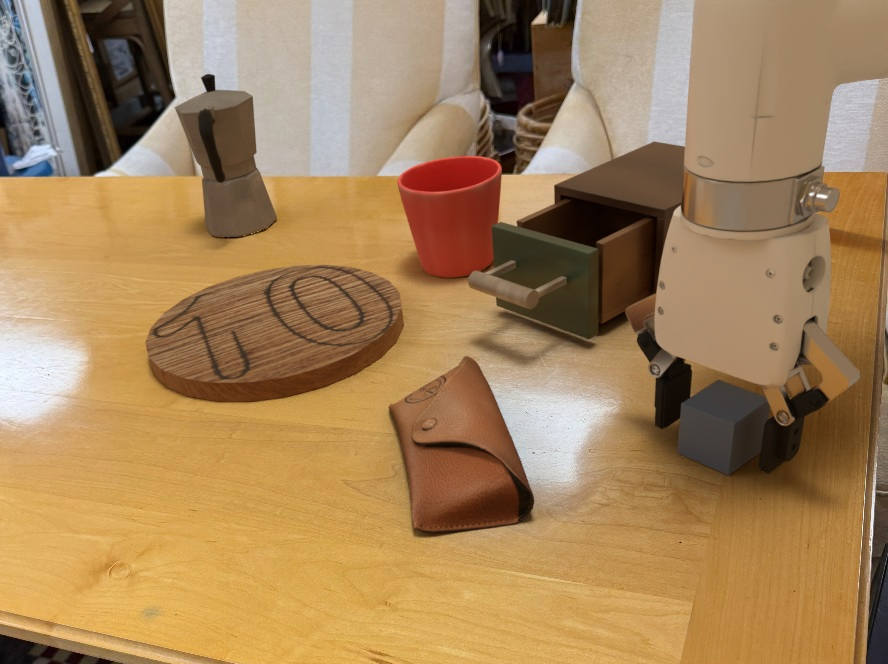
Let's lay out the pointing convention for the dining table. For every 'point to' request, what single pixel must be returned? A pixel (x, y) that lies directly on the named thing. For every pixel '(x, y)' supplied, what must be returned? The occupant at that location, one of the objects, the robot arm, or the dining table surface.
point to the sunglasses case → (460, 455)
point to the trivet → (275, 333)
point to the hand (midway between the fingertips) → (721, 439)
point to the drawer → (572, 264)
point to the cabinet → (635, 186)
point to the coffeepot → (227, 160)
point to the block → (722, 426)
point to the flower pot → (452, 212)
